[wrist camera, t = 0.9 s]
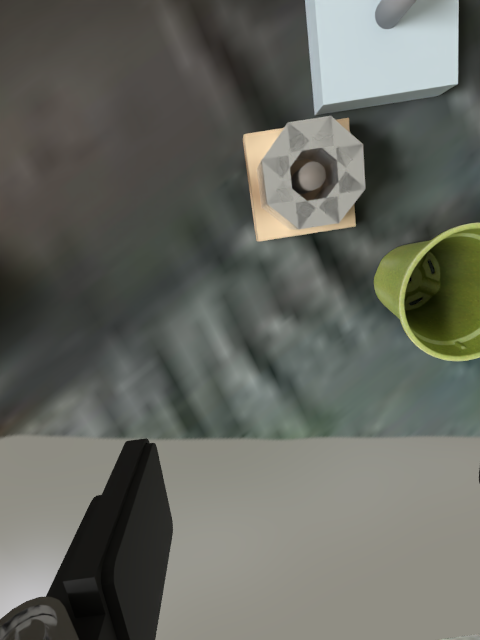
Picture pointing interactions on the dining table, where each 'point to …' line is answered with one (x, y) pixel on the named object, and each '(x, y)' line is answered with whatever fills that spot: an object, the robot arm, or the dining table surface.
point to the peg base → (380, 51)
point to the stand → (304, 182)
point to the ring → (318, 146)
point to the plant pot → (436, 292)
